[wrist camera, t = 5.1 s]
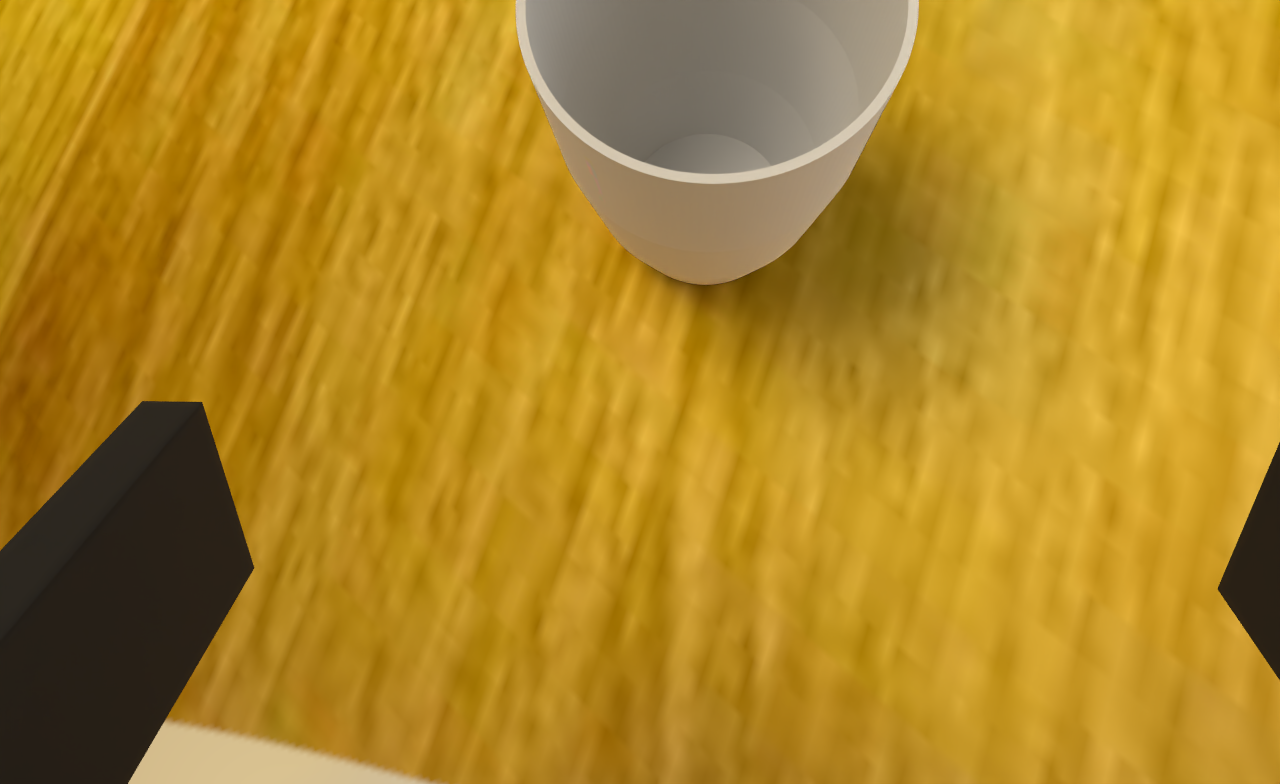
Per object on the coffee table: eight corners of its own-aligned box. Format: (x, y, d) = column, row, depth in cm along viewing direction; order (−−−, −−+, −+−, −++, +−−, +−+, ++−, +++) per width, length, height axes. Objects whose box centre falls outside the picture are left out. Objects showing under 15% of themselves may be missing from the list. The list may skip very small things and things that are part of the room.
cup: (861, 311, 27) (959, 147, 18) (591, 353, 27) (541, 213, 18) (809, 70, 29) (872, -198, 20) (557, 110, 29) (494, -136, 20)
